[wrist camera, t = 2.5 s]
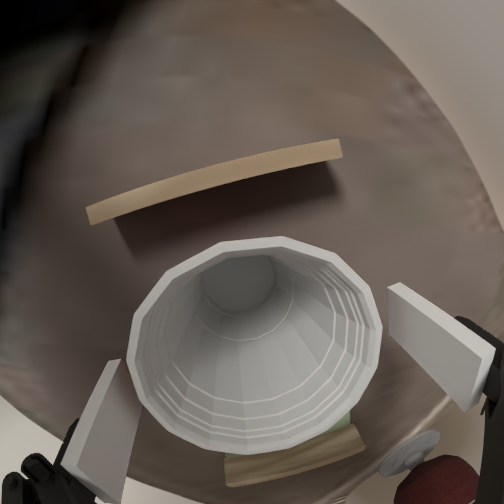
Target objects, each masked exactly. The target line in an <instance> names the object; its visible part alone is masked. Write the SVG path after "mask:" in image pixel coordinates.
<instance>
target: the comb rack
mask: <svg viewBox="0 0 504 504" xmlns="http://www.w3.org/2000/svg"><path fill="white" fill-rule="evenodd" d="M342 157H343V155H342V151H341V146H340V142H339V139H333V140H327V141H321V142H315V143H310V144H305V145H299V146H294V147H289V148H284V149H279V150H275V151H270V152H265V153H261V154H257V155H252V156H248V157H244V158H240V159H236V160H232V161H228V162H224V163H220V164H216V165H212V166H209V167H205V168H201V169H198V170H194V171H191V172H187V173H184V174H181V175H177V176H174V177H171V178H168V179H164V180H161V181H158V182H155V183H152V184H149V185H146V186H143V187H140V188H137V189H134V190H131V191H128V192H125V193H122V194H120V195H117V196H114V197H111V198H109V199H106V200H103V201H101V202H98V203H95V204H93V205H90V206H88V207H85V208H86V211H87V215H88V218H89V222H90V225H91V226H92V225H95V224H97V223H100V222H103V221H106V220H109V219H111V218H114V217H117V216H120V215H123V214H126V213H129V212H132V211H135V210H138V209H141V208H144V207H147V206H150V205H153V204H157V203H160V202H163V201H166V200H169V199H173V198H176V197H179V196H183V195H186V194H190V193H193V192H197V191H200V190H204V189H207V188H211V187H215V186H218V185H222V184H226V183H230V182H234V181H237V180H241V179H245V178H249V177H253V176H258V175H262V174H266V173H270V172H274V171H279V170H283V169H288V168H292V167H297V166H302V165H306V164H311V163H316V162H321V161H326V160H332V159H337V158H342ZM364 450H365V444H364V442H363V440H362V438H361V436H360V435H359V433H358V431H357V429H356V427H355V425H354V423H351V424H350V410H349V411H348V412H347V413H346V414H345V415H344V416H343V417H342V418H341V419H340V420H338V421H337V422H336V423H335V424H334V425H333V426H332V427H330V428H329V429H328V430H327V431H325V432H323V433H321V434H319V435H317V436H315V437H313V438H311V439H309V440H307V441H304V442H302V443H300V444H298V445H296V446H293V447H291V448H289V449H283V450H278V451H272V452H265V453H259V454H251V455H242V454H234V453H226V452H223V453H224V455H225V456H226V458H224V470H225V482H226V485H227V486H228V487H229V488H232V487H238V486H244V485H250V484H255V483H260V482H265V481H270V480H274V479H278V478H282V477H286V476H290V475H294V474H298V473H301V472H305V471H308V470H312V469H315V468H318V467H321V466H324V465H327V464H330V463H333V462H336V461H339V460H341V459H344V458H347V457H349V456H352V455H355V454H357V453H360V452H362V451H364Z"/></svg>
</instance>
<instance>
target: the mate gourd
mask: <svg viewBox="0 0 504 504" xmlns="http://www.w3.org/2000/svg"><path fill="white" fill-rule="evenodd" d="M439 439H440V433H439V432H438V430H436V429H431V430H427V431H424V432H422V433H419V434H417V435H416V436H414V437H412V438H410V439H409V440H407V441H406V442H404V443H403V444H401V445H400V446H398V447H397V448H396V449H395V450H393V451H392V452H391V453H390V454H389V455H388V456H387V457H386V458H385V459H384V460H383V461H382V463H381V464H380V466H379V469H378V471H379V473H380V475H382V476H391V475H396V474H398V473H400V472H403V471H405V470H407V469H410V470H411V472H410V473H409V475H408V476H407V477H406V478H405V479H404V480H403V481H402V482H401V483H400V484H399V486H398V487H397V491H396V494H395V498H394V504H474V502H475V498H476V493H477V488H478V482H479V475H478V474H477V473H476V471H475V470H474V469H473V467H472V466H470V465H469V464H468V463H467V462H466V461H465V460H463V459H462V458H460V457H458V456H452V455H442V456H438V457H436V458H434V459H431V460H429V461H426V462H424V457H426V456H427V455H428V454H429V453H430V452H431V451H432V450H433V448H434V447H435V446H436V445H437V443H438V441H439Z"/></svg>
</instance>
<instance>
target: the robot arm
mask: <svg viewBox="0 0 504 504" xmlns="http://www.w3.org/2000/svg"><path fill="white" fill-rule="evenodd" d="M387 292H388V319H389V335H390V336H391V337H392V338H393V339H394V340H395V341H396V342H397V343H398V344H399V345H400V346H401V347H402V348H403V349H404V350H405V351H406V352H407V353H408V354H409V355H410V356H411V357H412V358H413V359H414V360H415V361H416V362H417V363H418V364H419V365H420V366H421V367H422V368H423V369H424V370H425V371H426V372H427V373H428V374H429V375H430V376H431V377H432V378H433V379H434V380H435V381H436V382H437V383H438V384H439V385H440V387H441V388H442V389H443V390H444V391H445V392H446V393H447V394H448V395H449V396H450V397H451V398H452V399H453V400H454V401H455V402H456V404H457V405H458V406H459V407H460V408H461V409H462V410H463V411H464V412H467V411H468V410H469V409H471V408H472V407H473V406H475V405H476V404H478V403H479V400H480V397H481V395H482V392H483V393H484V394H485V395H486V396H487V398H486V401H485V403H484V406H483V408H482V410H481V414H480V415H483V413H484V411H485V432H484V445H483V455H482V463H481V470H480V477H479V482H478V488H477V493H476V498H475V502H474V504H504V343H503V342H501V341H500V340H498V339H497V338H496V337H494V336H493V335H491V334H490V333H488V332H487V331H485V330H483V328H481V327H480V326H477V325H476V324H475V323H474V322H472V321H471V320H469V319H467V318H464V317H460V316H457V317H455V318H453V317H451V316H450V315H448V314H447V313H445V312H444V311H442V310H441V309H440V308H438V307H437V306H435V305H434V304H432V303H431V302H429V301H428V300H426V299H425V298H423V297H422V296H420V295H419V294H417V293H416V292H414V291H412V290H411V289H409V288H408V287H406V286H405V285H403V284H402V283H400V282H399V283H397V284H394V285H392V286H389V287H387ZM142 408H143V404H142V403H141V402H140V401H139V398H138V395H137V392H136V389H135V386H134V383H133V380H132V377H131V375H130V374H129V372H128V370H127V368H126V366H125V365H124V363H123V361H122V359H116V360H109V361H108V363H107V365H106V366H105V368H104V370H103V372H102V374H101V376H100V378H99V380H98V382H97V384H96V386H95V388H94V390H93V392H92V394H91V397H90V399H89V401H88V403H87V405H86V407H85V409H84V411H83V413H82V416H81V418H80V419H76V420H75V422H74V423H73V424H72V425H71V426H70V428H69V430H68V432H67V434H66V435H67V437H65V439H64V441H63V442H64V443H63V444H62V446H61V448H60V450H59V453H58V455H57V457H56V459H55V462H54V464H53V465H52V464H51V463H50V462H49V461H48V460H47V459H46V458H45V457H44V456H43V455H41V454H40V453H34V454H31V455H29V456H28V457H26V458H25V459H24V461H23V462H22V465H21V472H22V473H23V474H24V475H25V476H27V477H28V478H29V479H25V478H24V477H23V476H22V475H20V473H18V472H11V473H9V474H7V475H6V476H5V478H4V480H3V483H2V504H97V503H96V502H94V501H95V497H96V496H97V497H98V498H99V499H100V500H102V501H103V502H104V503H111V504H121V498H122V493H123V488H124V483H125V478H126V474H127V469H128V465H129V460H130V456H131V452H132V447H133V443H134V439H135V435H136V431H137V427H138V423H139V419H140V415H141V411H142Z"/></svg>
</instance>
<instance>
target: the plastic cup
mask: <svg viewBox="0 0 504 504" xmlns="http://www.w3.org/2000/svg"><path fill="white" fill-rule="evenodd" d="M382 328H383V327H382V323H381V320H380V317H379V314H378V311H377V308H376V304H375V301H374V298H373V295H372V292H371V290H370V287H369V286H368V285H367V284H366V283H365V282H364V281H363V280H362V279H361V278H360V277H359V276H358V275H357V274H356V273H355V272H354V271H353V270H352V269H351V268H350V267H349V266H348V265H347V264H346V263H345V262H344V261H343V260H342V259H341V258H340V257H339V256H338V255H337V254H336V253H333V252H330V251H327V250H324V249H321V248H318V247H315V246H312V245H309V244H306V243H303V242H299V241H296V240H293V239H290V238H287V237H284V236H278V237H267V238H256V239H245V240H235V241H224V242H219V243H218V244H216V245H214V246H212V247H210V248H208V249H206V250H204V251H202V252H201V253H199V254H197V255H195V256H193V257H191V258H189V259H188V260H186V261H184V262H182V263H180V264H178V265H176V266H175V267H173V268H171V269H169V270H167V271H166V272H165V273H164V275H163V276H162V277H161V279H160V280H159V281H158V283H157V284H156V285H155V286H154V288H153V289H152V290H151V292H150V293H149V294H148V296H147V297H146V298H145V300H144V301H143V302H142V304H141V305H140V307H139V308H138V309H137V311H136V312H135V313H134V316H133V321H132V327H131V333H130V339H129V345H128V351H127V358H126V361H127V365H128V368H129V371H130V374H131V377H132V380H133V383H134V386H135V389H136V392H137V395H138V398H139V401H140V402H141V403H142V404H143V405H144V406H145V407H146V409H147V410H148V411H149V412H150V413H151V414H152V415H153V416H154V417H155V418H156V419H157V420H158V421H159V422H160V424H161V425H162V426H163V427H164V428H165V429H166V430H167V431H169V432H171V433H173V434H174V435H176V436H178V437H180V438H182V439H184V440H186V441H189V442H191V443H193V444H195V445H197V446H199V447H201V448H204V449H206V450H212V451H219V452H226V453H234V454H242V455H251V454H259V453H265V452H272V451H278V450H283V449H289V448H291V447H293V446H296V445H298V444H300V443H302V442H304V441H307V440H309V439H311V438H313V437H315V436H317V435H319V434H321V433H323V432H325V431H327V430H328V429H329V428H330V427H332V426H333V425H334V424H335V423H336V422H337V421H338V420H340V419H341V418H342V417H343V416H344V415H345V414H346V413H347V412H348V411H349V410H350V409H352V408H353V407H354V406H355V405H356V404H357V403H358V401H359V399H360V398H361V396H362V394H363V393H364V391H365V389H366V387H367V386H368V384H369V382H370V380H371V378H372V376H373V375H374V373H375V371H376V369H377V366H378V360H379V353H380V345H381V337H382Z"/></svg>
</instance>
